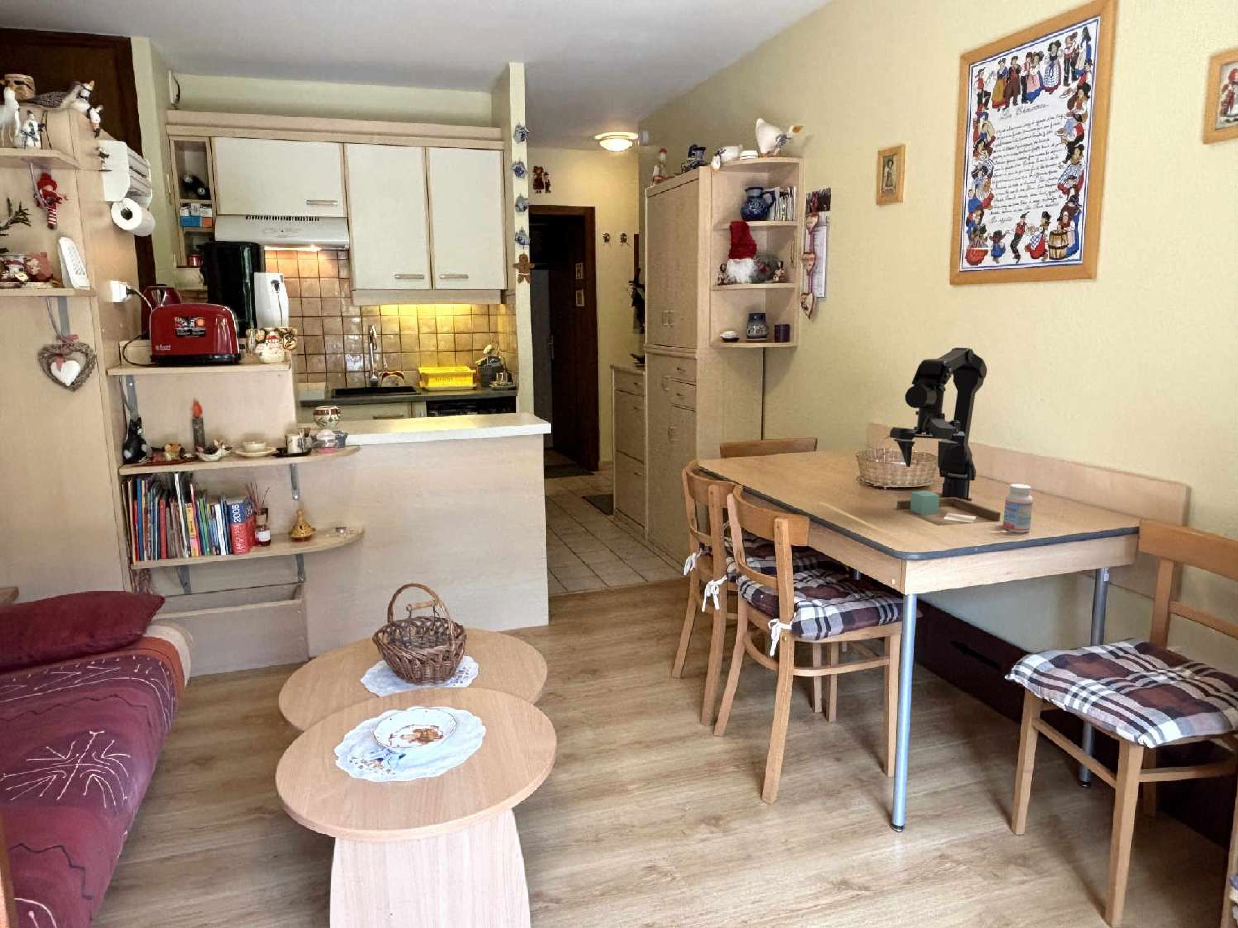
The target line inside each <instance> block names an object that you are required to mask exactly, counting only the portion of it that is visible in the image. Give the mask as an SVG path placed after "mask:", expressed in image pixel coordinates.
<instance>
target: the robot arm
mask: <svg viewBox="0 0 1238 928" xmlns="http://www.w3.org/2000/svg"><path fill="white" fill-rule="evenodd" d="M987 374H988V367H987V365H986V363H985V361H984V359H983V358H982V357H980V356H979V355H977V354H976V353H975V352H974V350H973V349H972V348H970V347H955V348H952V349H951V350H950V351H949V352H946V353H945V354H944V355H942V356H940V357H938V358H927V359H925V358H924V359H923V360H922V361H921V363H919V365H918V366H917V369H916V371H915V374H914V376H913V379H912V381H911V385H913V386H910V387H909V388H908V389H907V391H906V393H905V395H904V399H905V400H904V401H905V403H906V404H907V405H908V406H909V407H910V408H912V409H918V410H916V411H915V416H917V423H916V426H913V428H909V427H898V426H893V427H892V428H891V430H890V431H889V438H891V439H893V442H897V445H898V447H899V450H900V452H901V455H902V457H903V460H904V463H905V465H906V467H907V468H910V467H911V464H912V453H913V446H915V443H916V441H913V440H914V439H916V438H917V439H931V440H932V439H936V440H938V442H937V443H938V444H937V468H938V470H939V471H938V472H939V478H944V479H943V483H942V489H941V490H942V491H941V498H950V497H956V498H959V499H962V500H965V501H968V502H970V501H971V502H972V501H973V498H971V497H970V495H969V494H970V485H971V484H970V482H971V481H972V482H973V481H976V476H977V470H976V467H975V464H974V461H973V452H972V450H971V448H970V446H969V438H970V431H971V425H972V418H973V412H974V406H975V405H974V404H975V398H976V393H977V392H978V391H979V390H980V389H981V387H982V386H983V385H984V380H985V378H986V376H987ZM952 376H953V377H952ZM951 377H952V382H953V385H954V386H955V389H956V391H957V393H956V401H955V405H954V406H955V407H954V413H953V419H952V420H950V421H947V420H946V413H943V407H944V406H943V404H944V397H945V392H947V389H946V385H947V384H948V381H949V380H950V378H951Z"/></svg>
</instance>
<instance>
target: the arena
mask: <svg viewBox="0 0 1238 928" xmlns="http://www.w3.org/2000/svg"><path fill="white" fill-rule="evenodd" d="M910 506H911V499H905V500H904V499H903V500H896V509H897V510H898V511H901V512H903V513H906V514H909V515H911V516H913V517H915V518H918V519H920V520H923V521H926V522H928V523H931V524H933V525H935V526H952V525H964V524H965V525H966V524H979V523H980V524H981V523H994V522H995V523H996V522H1000V521H1001V512H999V511H998V510H994V509H990V508H989V507H985V506H981V505H979V504H976V503H973V502H972V501H971V502H970V501H967V500H964V499H959V498H956V497H950V498H945V497H939V509H938V514H925V515H921V514H918V513H916V512H913V511H911V510H910Z"/></svg>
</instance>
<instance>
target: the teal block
mask: <svg viewBox="0 0 1238 928" xmlns="http://www.w3.org/2000/svg"><path fill="white" fill-rule="evenodd" d="M910 493H911V494H910V495H911V497H910V500H911V506H910V510H911V511H913V512H916V513H918V514H921V515H925V514H938V509H939V498H940V494H937V493H935V492H932V491H929V490H921V491H911V492H910Z"/></svg>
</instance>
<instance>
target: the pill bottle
mask: <svg viewBox="0 0 1238 928" xmlns="http://www.w3.org/2000/svg"><path fill="white" fill-rule="evenodd" d="M1031 492H1032V487H1031V486H1030V485H1027V484H1020V483H1013V484H1010V485H1009V493H1008V494H1007V495H1006V496H1005V502H1004V513H1003V521H1002V527H1003V528H1004V530H1005V531H1007V532H1011V533H1015V532H1016V533H1015V534H1019V533H1020V534H1022V533H1025V532H1026V533H1029V532H1030V531H1031V522H1032V512H1033V506H1034V505H1033V504H1034V498H1033V497H1032V496H1031V494H1030V493H1031Z"/></svg>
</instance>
